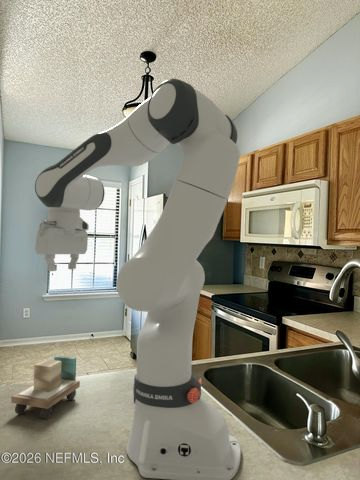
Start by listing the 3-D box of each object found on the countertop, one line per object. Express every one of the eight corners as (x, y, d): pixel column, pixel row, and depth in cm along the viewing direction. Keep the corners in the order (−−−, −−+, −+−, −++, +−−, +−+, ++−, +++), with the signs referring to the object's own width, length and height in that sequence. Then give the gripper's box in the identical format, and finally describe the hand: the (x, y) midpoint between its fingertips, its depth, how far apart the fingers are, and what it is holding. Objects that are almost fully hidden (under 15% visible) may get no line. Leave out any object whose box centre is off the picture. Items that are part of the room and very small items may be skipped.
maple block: (60, 384, 85) (61, 361, 86) (49, 392, 81) (50, 366, 81) (45, 382, 87) (46, 359, 87) (33, 389, 82) (34, 364, 82)
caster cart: (81, 395, 90) (82, 358, 90) (47, 421, 76) (48, 377, 76) (49, 391, 92) (50, 354, 93) (10, 415, 79) (12, 372, 79)
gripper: (50, 219, 87) (48, 272, 87) (91, 225, 107) (90, 268, 106) (30, 219, 89) (28, 271, 88) (74, 225, 108) (73, 268, 108)
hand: (62, 270), depth 98 cm, fingers open, 8 cm apart
